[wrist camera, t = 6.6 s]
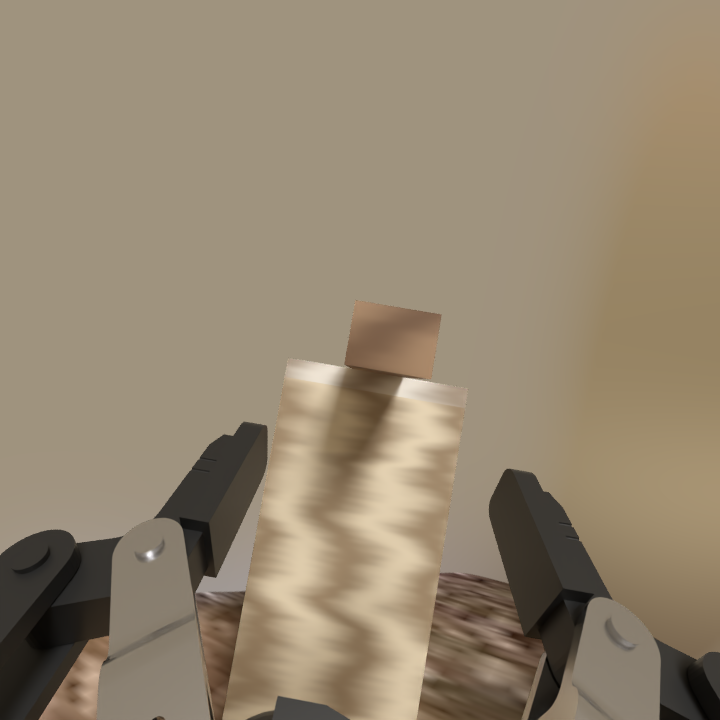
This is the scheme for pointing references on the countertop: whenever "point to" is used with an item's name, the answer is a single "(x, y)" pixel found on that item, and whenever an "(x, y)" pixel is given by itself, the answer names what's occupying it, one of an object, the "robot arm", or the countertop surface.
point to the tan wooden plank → (392, 340)
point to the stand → (348, 544)
